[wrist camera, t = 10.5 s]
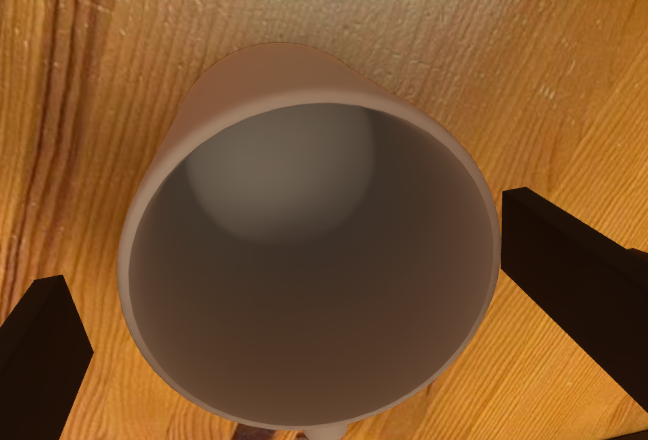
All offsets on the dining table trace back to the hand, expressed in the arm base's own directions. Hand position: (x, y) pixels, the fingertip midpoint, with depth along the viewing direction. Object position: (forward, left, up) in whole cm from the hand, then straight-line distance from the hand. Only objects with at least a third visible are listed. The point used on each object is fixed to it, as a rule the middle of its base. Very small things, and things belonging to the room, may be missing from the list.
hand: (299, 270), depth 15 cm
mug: (0, 0, -7) cm, 7 cm away
